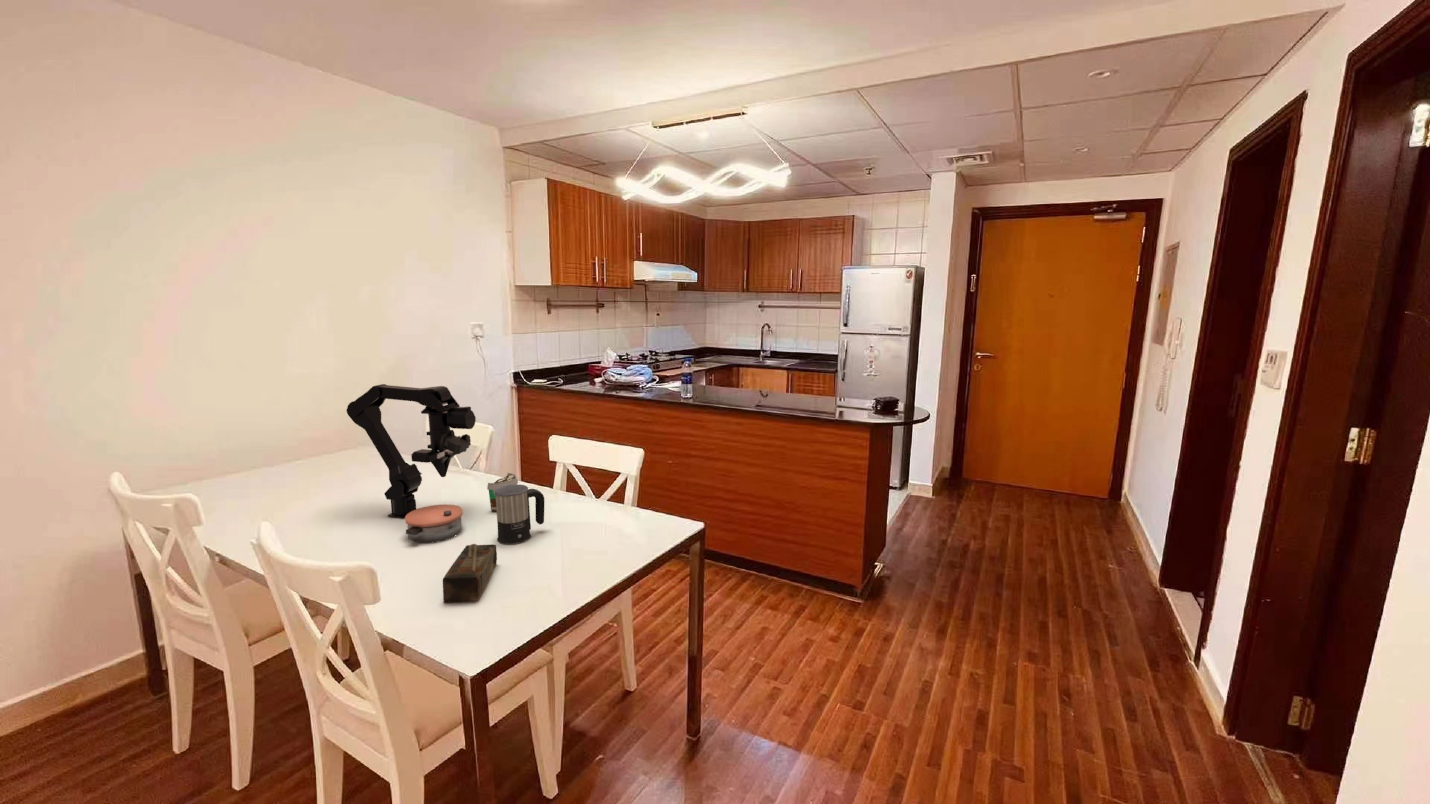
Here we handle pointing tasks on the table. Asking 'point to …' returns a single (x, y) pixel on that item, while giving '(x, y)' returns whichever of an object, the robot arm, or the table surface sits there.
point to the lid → (433, 515)
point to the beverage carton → (469, 573)
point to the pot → (434, 532)
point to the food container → (507, 480)
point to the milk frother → (516, 512)
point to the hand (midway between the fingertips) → (443, 476)
